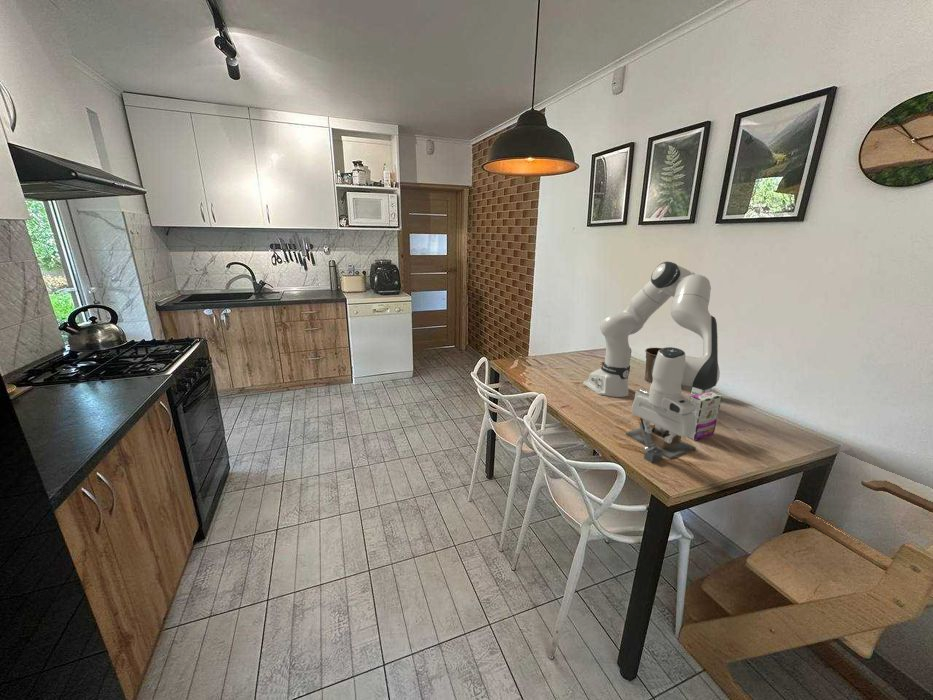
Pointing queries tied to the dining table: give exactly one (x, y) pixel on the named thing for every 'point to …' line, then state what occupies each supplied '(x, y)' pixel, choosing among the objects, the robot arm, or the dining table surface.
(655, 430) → the steel pin
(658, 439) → the hitch block
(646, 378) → the plant pot
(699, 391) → the syrup box
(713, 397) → the candy bar box
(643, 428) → the bar
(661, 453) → the retainer base
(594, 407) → the dining table surface
